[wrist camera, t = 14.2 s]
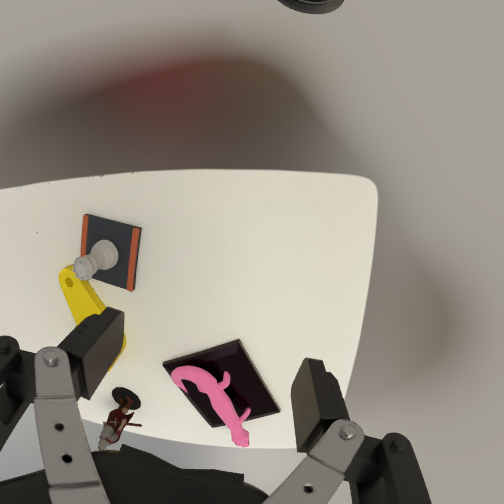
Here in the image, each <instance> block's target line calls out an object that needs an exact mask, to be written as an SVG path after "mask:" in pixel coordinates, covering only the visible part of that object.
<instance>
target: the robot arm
mask: <svg viewBox="0 0 504 504" xmlns="http://www.w3.org/2000/svg"><path fill="white" fill-rule="evenodd" d="M296 1H298V2H301V3H305V4H310V5H322V4H326V3H329V2H331V1H333V0H296ZM123 342H124V312H123V311H120V310H117V309H114V308H111V307H106V308H105V309H104V310H103V311H102V313H101V314H100V315H98V314H92V315H90V316H88V317H86V318H85V319H84V320H83V321H82V322H81V323H80V324H79V325H78V326H77V327H76V328H75V329H74V330H73V331H72V332H71V333H70V334H69V335H68V336H67V337H66V338H65V339H64V340H63V341H62V342H61V343H60V344H59V345H58V346H57V347H45V348H42V349H40V350H39V351H38V352H37V353H32V352H28V351H23V350H20V348H19V344H18V342H17V340H16V339H14V338H13V337H10V336H0V386H1V385H2V384H3V385H2V386H1V388H0V451H1V449H2V448H3V446H4V444H5V443H6V440H7V439H8V438H9V436H10V434H11V433H12V431H13V429H14V428H15V426H16V424H17V423H18V421H19V420H20V418H21V417H22V415H23V414H24V412H25V411H26V409H27V408H28V406H29V405H30V403H33V404H34V409H35V417H36V425H37V432H38V438H39V444H40V449H41V454H42V459H43V463H44V468H45V469H42V470H39V471H36V472H33V473H30V474H26V475H23V476H19V477H15V478H12V479H8V480H4V481H0V504H327V503H328V502H329V500H330V499H331V497H332V496H333V494H334V493H335V491H336V490H337V488H338V487H339V485H340V484H341V482H342V481H343V480H344V481H348V482H349V484H350V490H351V497H352V504H432V503H431V500H430V497H429V494H428V491H427V488H426V485H425V482H424V479H423V476H422V473H421V470H420V467H419V464H418V462H417V459H416V456H415V453H414V451H413V448H412V445H411V443H410V441H409V440H408V439H407V438H406V437H405V436H403V435H401V434H399V433H389V434H387V435H385V437H384V438H383V439H382V440H381V439H377V438H373V437H369V436H366V435H364V432H363V430H362V429H361V427H360V426H359V425H357V424H356V423H355V422H352V421H350V418H349V415H348V411H347V408H346V405H345V402H344V399H343V397H342V393H341V391H340V386H339V383H338V380H337V379H336V378H335V377H334V376H333V374H332V373H331V372H326V370H325V366H324V363H323V361H322V360H318V359H312V358H305V359H304V360H303V362H302V364H301V366H300V369H299V371H298V373H297V375H296V377H295V379H294V381H293V384H292V388H291V401H292V410H293V418H294V427H295V436H296V445H297V452H304V453H307V456H306V457H305V458H304V459H303V461H302V462H301V463H300V464H299V465H298V466H297V467H296V469H295V470H294V471H293V472H292V473H291V474H290V475H289V476H288V477H287V478H286V480H285V481H284V482H283V483H282V484H281V485H280V486H279V487H278V488H277V489H276V490H275V491H274V492H273V493H272V494H271V495H270V496H269V495H267V494H266V493H265V492H263V491H262V490H260V489H259V488H257V487H255V486H253V485H251V484H249V483H246V482H244V474H239V473H233V472H226V471H220V470H215V469H181V468H178V467H176V466H174V465H172V464H170V463H168V462H166V461H164V460H162V459H160V458H158V457H156V456H154V455H153V454H151V453H147V452H144V451H141V450H138V449H135V448H133V447H130V446H127V445H124V444H122V446H121V448H120V451H117V450H99V451H93V452H91V450H90V447H89V444H88V441H87V438H86V435H85V431H84V427H83V424H82V420H81V416H80V412H79V408H78V404H77V401H78V400H79V398H80V397H83V398H85V399H87V400H90V398H91V397H92V395H93V394H94V392H95V390H96V389H97V387H98V386H99V384H100V383H101V381H102V379H103V378H104V376H105V375H106V373H107V372H108V370H109V369H110V367H111V366H112V364H113V363H114V361H115V360H116V358H117V357H118V355H119V354H120V352H121V350H122V347H123Z"/></svg>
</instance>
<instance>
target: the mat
mask: <svg viewBox="0 0 504 504" xmlns="http://www.w3.org/2000/svg"><path fill="white" fill-rule="evenodd" d="M141 229H142V228H140V227H136V226H132V225H128V224H124V223H120V222H116V221H113V220H109V219H105V218H101V217H97V216H93V215H89V214H85V215H83V225H82V239H81V257H83V256H85V255H89V254H90V253H91V250H92V247H93V246H94V245H95V244H96V243H97V242H98V241H101V240H108V241H110V242H112V243H113V244H114V246H115V247H116V249H117V251H118V261H117V263H116V264H115V266H114V267H111V268H110V269H107V270H102V269H98V270H97V271H96V273H95V274H93V276H92V277H91V278H93V279H96V280H99V281H102V282H105V283H108V284H111V285H114V286H117V287H121V288H124V289H127V290H128V291H132V292H133V290H134V289H135V279H136V269H137V260H138V251H139V244H140V236H141Z"/></svg>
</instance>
